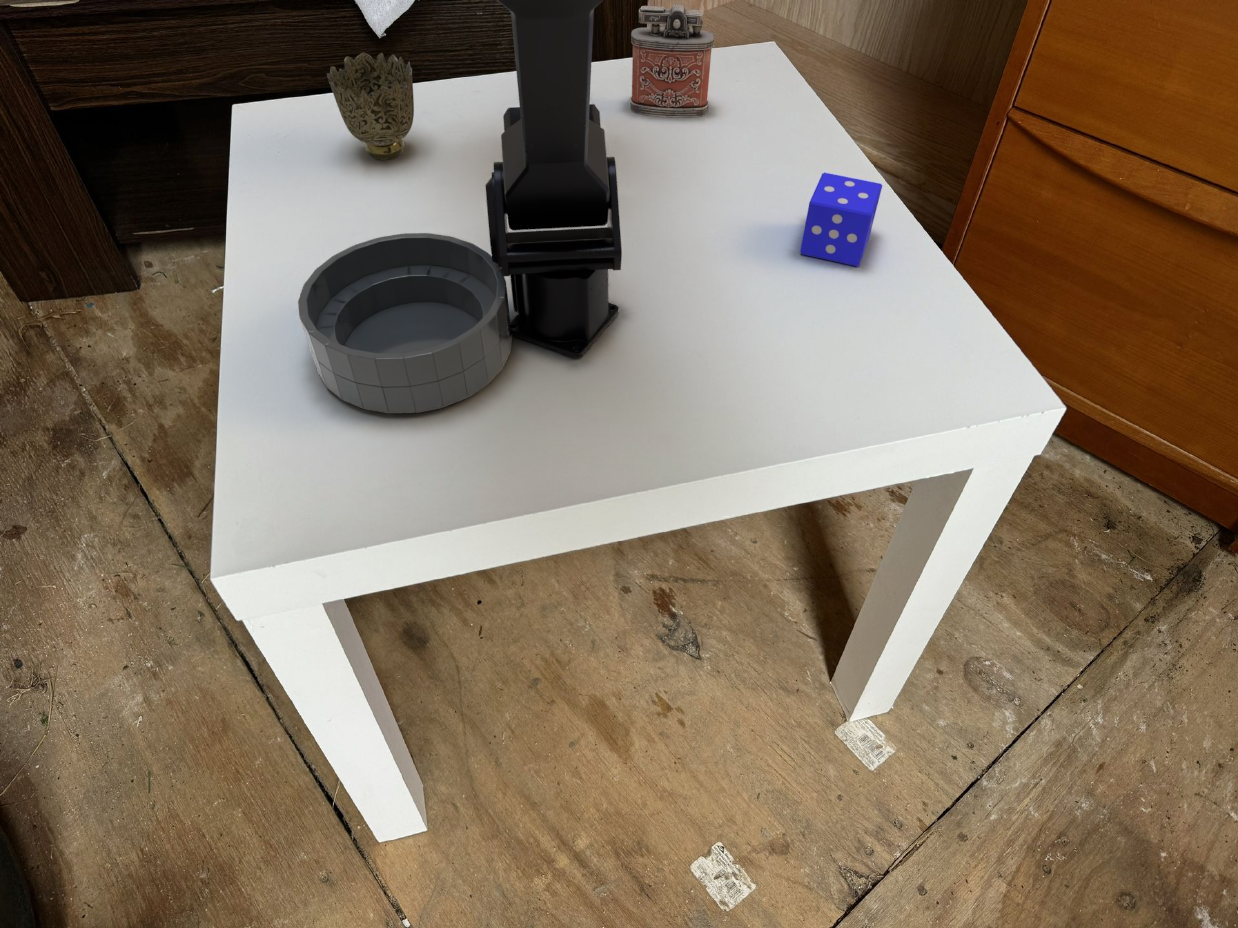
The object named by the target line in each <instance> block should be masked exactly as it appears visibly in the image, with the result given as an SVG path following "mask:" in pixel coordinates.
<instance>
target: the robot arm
mask: <svg viewBox="0 0 1238 928" xmlns="http://www.w3.org/2000/svg"><path fill="white" fill-rule="evenodd" d="M496 1H497V2H498V3H499V4H500V5H502V6H503V7H505V9H507V10H509V12H510V18H511V28H512V39H513V49H514V60H515V62H514V63H515V71H516V72H515V73H516V81H517V82H516V83H517V93H518V102H519V107H518V106H515V107H511V106H510V107H507V108H506V111H504V113H503V115H502V118H503V119H502V121H503V132H502V133H501V135H500V136H501V137H500V138H501V139H500V140H501V154H502V155H501V156H502V161H493V171H491V178H489V180H488V181H487V182H486V183H485V186H484V187H485V198H486V210H487V211H486V212H487V222H488V223H487V224H488V234H489V245H490V252H491V253H490V255H491V256H492V261H493V262H495V263H497V264H498V267H499V268H501V270H502V276H504V277H509V281H510V288H511V290H510V291H511V298H512V299H511V300H512V309H513V311H514V312H515V313H517V314H516V315H515V316H514V317H513V319H512V320H510V323H511V333H512V337H516V338H519V339H522V340H525V341H527V342H531V343H533V344H535V345H538V346H541V347H543V348H546V349H549V350H552V351H555V352H557V353H559V354H563V355H565V356H569V357H571V358H574V359H579V358H582V357H583V356H584V355H585V354H586V352H587V351H588V350H589V349H590V347H591V346H592V345H593V344H594V343H595V342H596V341H597V339H598V338H599V337H600V336H601V335H602V333H603V332H604V331H605V330H607V327H608V326H609V325H610V324H611V323H612V322H613V320H614V319H616V317H617V315H618V314H619V306H618V305H617V304H615V303H611V302H609V270H612V271H621V269H622V257H623V255H622V253H623V252H622V251H623V249H622V235H621V221H620V207H619V190H618V176H617V175H618V173H617V164H616V159H615V156H607V147H606V146H607V145H606V144H607V143H606V133H605V129H604V128H602V127H601V112H600V110H599V109H598V107H597V106H596V104H594V103H590V102H591V83H592V80H591V79H592V61H593V59H592V57H593V55H592V54H593V37H594V35H593V34H594V15H595V14H594V13H595V8H597V7H598V6H599V5H600V4H601V3H603V2H604V0H496ZM606 225H607V227H606ZM604 226H605V227H604ZM509 229H510V230H511V231H509ZM551 229H552V230H551Z"/></svg>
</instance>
